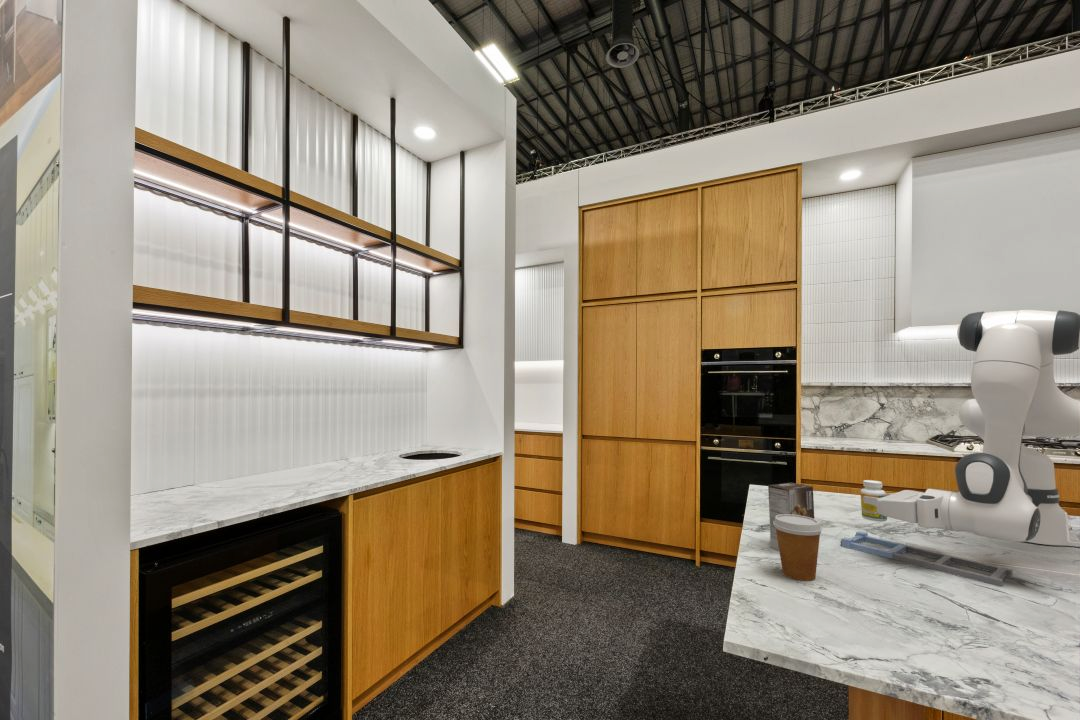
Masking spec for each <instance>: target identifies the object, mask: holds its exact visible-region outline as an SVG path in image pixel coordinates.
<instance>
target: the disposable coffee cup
mask: <svg viewBox="0 0 1080 720" xmlns="http://www.w3.org/2000/svg"><path fill="white" fill-rule="evenodd" d="M773 524H774V526H775V528H776V533H777V540H778V546H779V550H778V551H779V552H778V553H779V559H780V564H781V569H782V570H781V571H782V573H783V574H784V576H786V577H788V578H790V579H793V580H799V581H806V582H807V581H808V582H809V581H815V579H816V576H817V565H818V558H819V548H820V538H821V533H822V531H823V528H822V526H821V523H820V521H819V520H817V519H815V518H814V519H813V518H810V517H806V516H800V515H792V514H781V515H777V516H775V521H773Z"/></svg>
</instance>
